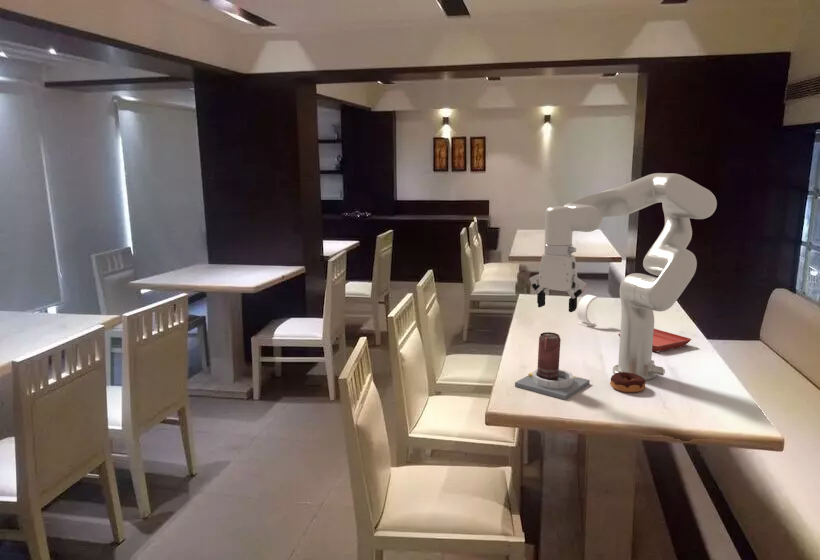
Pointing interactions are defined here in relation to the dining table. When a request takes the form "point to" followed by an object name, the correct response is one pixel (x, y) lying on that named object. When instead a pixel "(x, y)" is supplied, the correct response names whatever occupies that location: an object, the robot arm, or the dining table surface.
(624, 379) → the donut
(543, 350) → the can
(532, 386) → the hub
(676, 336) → the plant saucer
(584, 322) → the white curved piece
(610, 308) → the dining table surface
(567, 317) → the dining table surface
